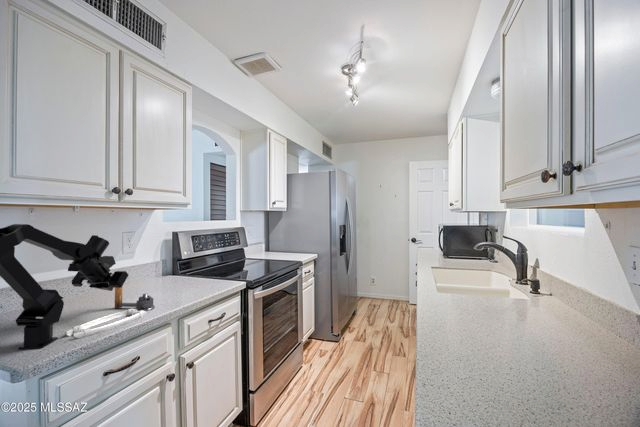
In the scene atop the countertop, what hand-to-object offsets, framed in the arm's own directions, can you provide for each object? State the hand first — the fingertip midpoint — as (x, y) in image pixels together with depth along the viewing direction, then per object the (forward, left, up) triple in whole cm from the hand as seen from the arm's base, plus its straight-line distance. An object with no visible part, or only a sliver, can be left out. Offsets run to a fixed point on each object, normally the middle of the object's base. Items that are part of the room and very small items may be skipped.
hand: (111, 289), depth 117 cm
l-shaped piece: (+3, -7, -8) cm, 11 cm away
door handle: (-14, -7, -9) cm, 18 cm away
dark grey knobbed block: (+2, -12, -9) cm, 15 cm away
